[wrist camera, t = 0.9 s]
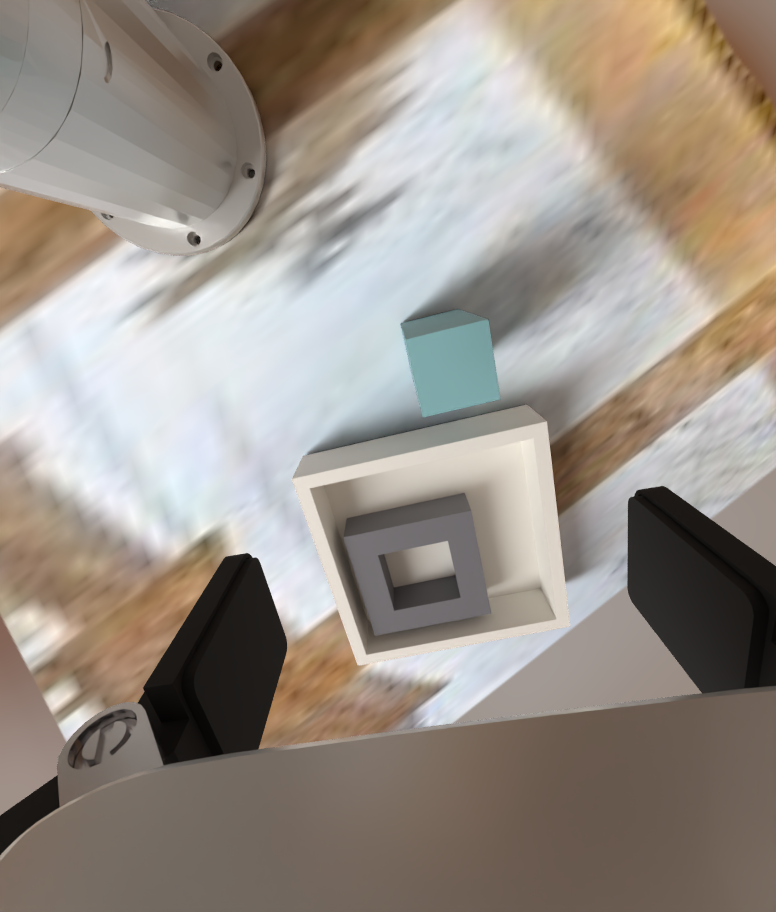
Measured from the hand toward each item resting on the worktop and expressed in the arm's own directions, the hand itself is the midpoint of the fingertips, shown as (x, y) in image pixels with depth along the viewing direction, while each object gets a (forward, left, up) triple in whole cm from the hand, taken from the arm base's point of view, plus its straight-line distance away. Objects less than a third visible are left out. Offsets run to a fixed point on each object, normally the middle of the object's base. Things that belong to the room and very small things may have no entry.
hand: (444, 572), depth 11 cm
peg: (-2, +3, -24) cm, 24 cm away
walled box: (+13, 0, -23) cm, 27 cm away
